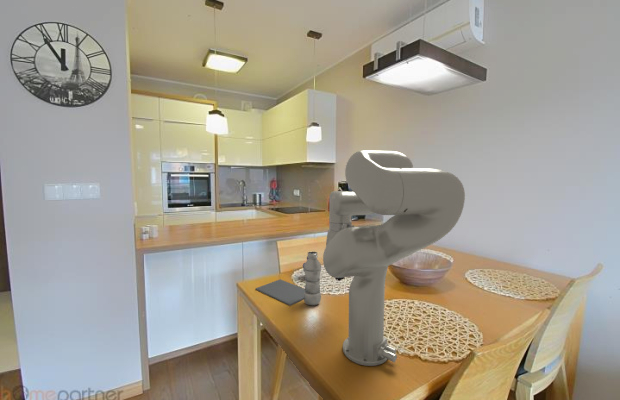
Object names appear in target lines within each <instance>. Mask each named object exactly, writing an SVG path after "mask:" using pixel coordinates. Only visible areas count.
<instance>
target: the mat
mask: <svg viewBox="0 0 620 400" xmlns="http://www.w3.org/2000/svg"><path fill="white" fill-rule="evenodd" d="M255 291H258V292H260V293H262V294H264V295H266V296H269V297H270V298H273V299H274V300H276V301H279V302H281V303H282V304H285V305H287V306H289V307H291V306H294V305H295V304H297V303H299V302H301V301H304V292H305V287H304V288H303V287H301V286H299V285H295V284H293V283H290V282H289V281H285V280H283V279H281V278H280V279H278V280H274V281H272V282H269V283H266V284H264V285H261V286H259V287H255Z"/></svg>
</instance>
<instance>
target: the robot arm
mask: <svg viewBox="0 0 620 400" xmlns="http://www.w3.org/2000/svg"><path fill="white" fill-rule="evenodd" d="M344 169H345V171H344V172H345V173H344V174H345V176H344V177H345V181H346V182H347V185H348V187H349V188H350V190H351V191H347V190H333V191H331V192H330V194H329V202H328V203H329V207H328V208H329V210H328V211H329V213H328V214H329V219H328V220H329V224H328V225H329V229H328V231H327V234H326V241H325V247H324V251H323V254H322V255H323V256H322V257H323V258H322V263H323V267H324V269H325V272H326V273H327V274H328V275H329V276H331V277H332V278H334V279H335V280H336V281H342V280H343V279H344V280H345V278H352V277H353V278H352V279H351V282H350V285H349V289H348V337H346V338H345V340H343V342H342V352H343V353H344V355H345V357H346V358H348V359H349V360H350V361H352V362H353V363H355V364H358V365H360V366H361V365H362V366H366V367H368V366H369V367H374V366H380V365H381V364H382V365H383V363H385V362H386V361H387V360H389V361H391V362H392V363H396V361H397V358H398V355H397V348H395V347H392V346H390V345H389V344H388V337H386V336H384V333H385V331H384V330H385V326H384V325H385V289H386V279H387V272H388V268H389V266H390V265H391V266H392V265H393V264H395V263H397V262H399V261H401V260H402V259H405V258H407V257H409V256H412V255H413V254H415V253H417V252H420V251H421V250H423V249H425V248H428V247H429V246H431V245H433V244H434V243H437V242H439V241H440V240H442V239H443V238H444V237H446V235H448V234H449V233H450V232H451V231H452V230H453V228H454V227H456V224H458V221H459V220H460V217H461V215H462V214H463V210H464V207H465V201H466V200H465V199H466V194H465V187H464V185H463V182H462V181H461V180H460V179H459V178H458V177H457V176H456V175H454V174H453V173H451V172H448V171H446V170H443V169H438V168H437V169H436V168H427V167H426V168H425V167H424V168H423V167H422V168H421V167H420V168H419V167H418V168H417V167H416V168H415V167H414V165H413V162H412V160H411V159H410V157H408V156H407V155H405V154H404V153H402V152H399V151H394V150H366V149H363V150H359V151H356V152H354V153H353V154H352V155H350V157H349V158H348V161H347V162H346V165H345V168H344ZM373 214H377V215H381V216H391V217H390V218H389V219H387V220H386V221H385V222H383V223H382V224H378V225H367V226H366V225H364V226H362V225H361V226H354V225H353V224H352V223H353V222H352V216H370V215H373Z"/></svg>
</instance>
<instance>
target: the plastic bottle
mask: <svg viewBox="0 0 620 400" xmlns="http://www.w3.org/2000/svg"><path fill="white" fill-rule="evenodd" d="M307 258H308V260H307ZM318 258H319V256H318V252H317V251H308V252H307V256H306V261H305V262H304V263H305V265H304V270H303V272H304V271H305V272H304V279H305V282H304V284H305V286H304V289H305V292H304V300H303V302H304V303H305V304H306V305H307V306H316V305H319V304H320V303H321V302H322V301H321V300H322V294H321V286H320V279H321V270H322V264H321V262H320V261H319V259H318Z"/></svg>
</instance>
